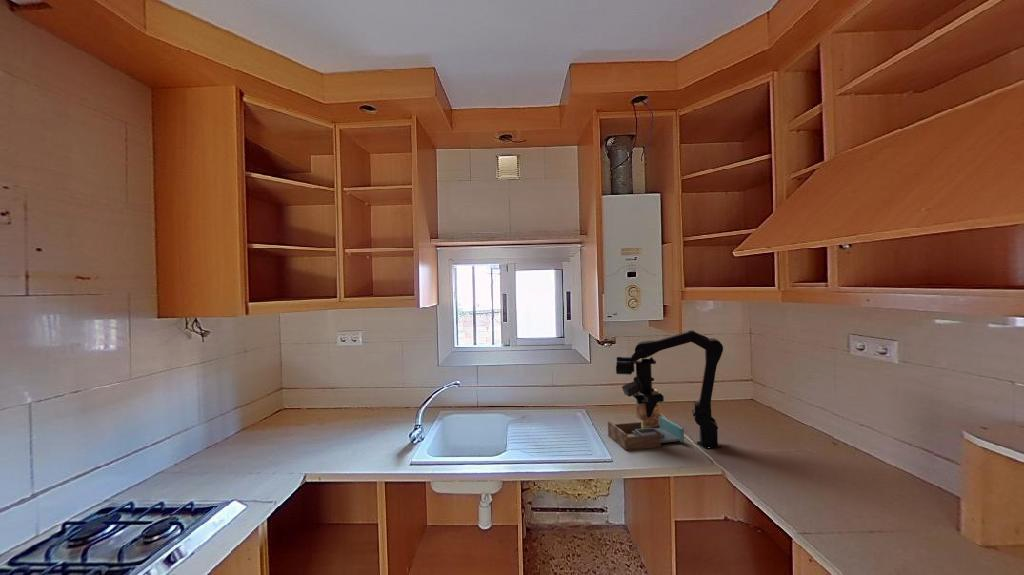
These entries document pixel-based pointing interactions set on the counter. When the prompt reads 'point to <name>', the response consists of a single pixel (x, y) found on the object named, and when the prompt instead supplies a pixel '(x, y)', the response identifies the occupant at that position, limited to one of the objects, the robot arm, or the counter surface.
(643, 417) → the terracotta block
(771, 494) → the counter surface
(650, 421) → the candy box
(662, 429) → the sliding tray
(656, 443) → the caddy frame
